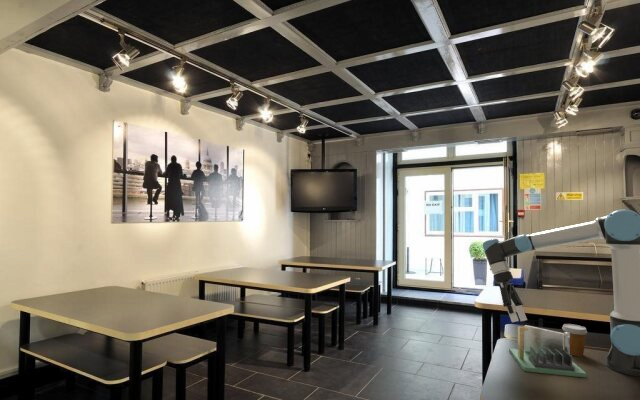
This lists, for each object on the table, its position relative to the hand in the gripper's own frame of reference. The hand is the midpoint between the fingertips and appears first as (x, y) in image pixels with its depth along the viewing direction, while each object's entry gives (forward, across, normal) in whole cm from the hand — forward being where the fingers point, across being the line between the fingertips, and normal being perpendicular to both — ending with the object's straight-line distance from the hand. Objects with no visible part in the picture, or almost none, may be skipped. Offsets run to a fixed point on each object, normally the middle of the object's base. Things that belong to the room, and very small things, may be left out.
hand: (519, 321), depth 162 cm
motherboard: (+18, -6, +2) cm, 19 cm away
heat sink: (+18, -2, +4) cm, 18 cm away
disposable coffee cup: (+17, -29, +10) cm, 35 cm away
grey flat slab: (+15, -10, +2) cm, 18 cm away
